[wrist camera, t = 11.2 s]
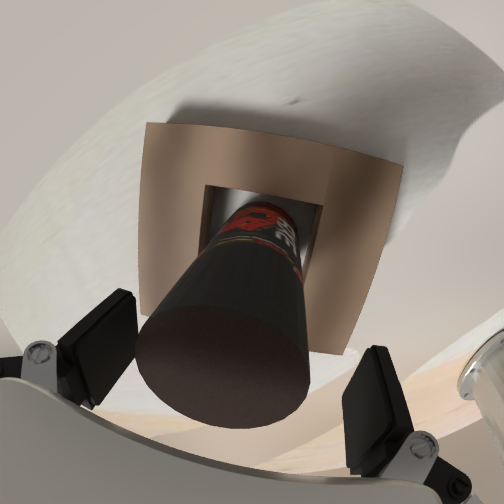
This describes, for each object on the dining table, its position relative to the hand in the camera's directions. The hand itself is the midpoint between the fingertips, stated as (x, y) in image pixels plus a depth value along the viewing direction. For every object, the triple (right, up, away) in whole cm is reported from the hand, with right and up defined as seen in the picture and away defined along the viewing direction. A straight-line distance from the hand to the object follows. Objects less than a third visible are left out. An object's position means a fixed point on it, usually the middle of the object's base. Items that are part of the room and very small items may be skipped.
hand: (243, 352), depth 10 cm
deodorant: (+1, +5, +12) cm, 13 cm away
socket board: (+1, +5, +12) cm, 13 cm away
